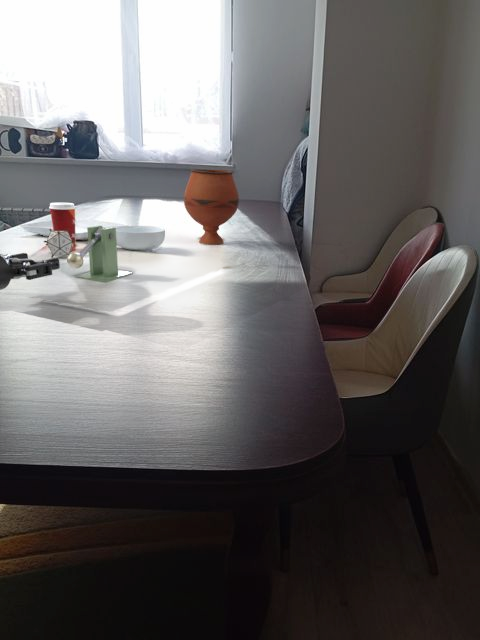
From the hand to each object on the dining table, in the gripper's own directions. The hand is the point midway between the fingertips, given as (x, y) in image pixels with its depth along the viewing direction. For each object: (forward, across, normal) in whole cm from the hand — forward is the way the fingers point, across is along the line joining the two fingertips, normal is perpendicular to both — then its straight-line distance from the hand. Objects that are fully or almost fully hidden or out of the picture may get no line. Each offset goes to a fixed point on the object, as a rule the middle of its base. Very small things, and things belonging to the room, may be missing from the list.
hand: (42, 260), depth 109 cm
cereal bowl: (+56, +15, +8) cm, 59 cm away
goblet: (+84, +4, +8) cm, 85 cm away
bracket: (+20, 0, +8) cm, 21 cm away
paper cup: (+43, +33, +8) cm, 55 cm away
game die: (+34, +27, +8) cm, 44 cm away
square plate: (+67, +50, +8) cm, 84 cm away
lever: (+15, 0, +1) cm, 15 cm away
